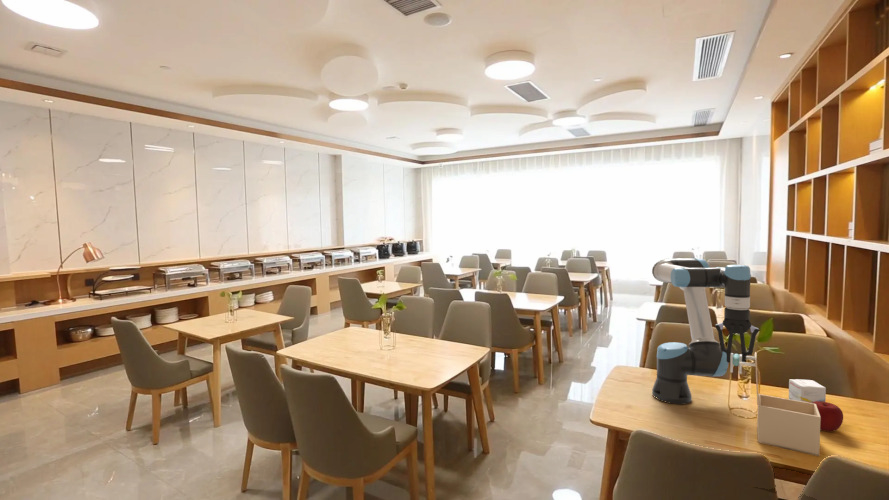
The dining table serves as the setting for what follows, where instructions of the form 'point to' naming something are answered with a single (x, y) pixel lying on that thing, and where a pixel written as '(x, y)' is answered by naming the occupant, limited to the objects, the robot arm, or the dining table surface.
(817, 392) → the ink box
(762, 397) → the carton
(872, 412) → the dining table surface
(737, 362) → the flap
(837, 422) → the apple
